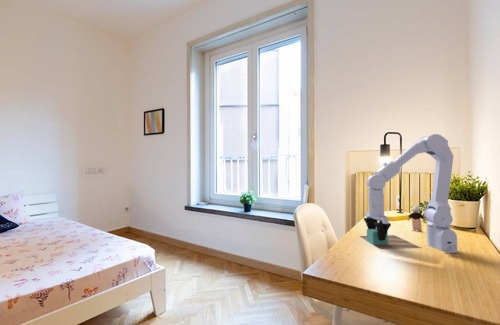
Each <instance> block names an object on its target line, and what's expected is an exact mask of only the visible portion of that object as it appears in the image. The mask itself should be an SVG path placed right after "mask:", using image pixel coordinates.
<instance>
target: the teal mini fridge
mask: <svg viewBox="0 0 500 325" xmlns="http://www.w3.org/2000/svg"><path fill="white" fill-rule="evenodd" d="M388 232H389V231H387V234H386V238H385V241H380V240H379V239H378V232H377V228H376V229H368V228H367V229H366V236H367V241H366V242H368V243H369V242H370V243H369V244H371V245H372V244H373V245H372V246H374V245H377V244H388V235H389V233H388Z"/></svg>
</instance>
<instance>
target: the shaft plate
mask: <svg viewBox="0 0 500 325" xmlns="http://www.w3.org/2000/svg"><path fill="white" fill-rule="evenodd" d="M359 237H360V238H361V239H363V240H364V241H366V242H368V241H367V235H359ZM368 243H369V244H371V243H370V242H368ZM371 245H372V246H374V247H376V248H377V249H379V250H400V249H404V250H405V249H422V247H421V246H419V245H416V244H414V243H412V242H410V241H409V240H406V239H404V238H401V237H400V236H397V235H395V234H388V244H377V245H373V244H371Z"/></svg>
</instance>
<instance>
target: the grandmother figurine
mask: <svg viewBox="0 0 500 325" xmlns="http://www.w3.org/2000/svg"><path fill="white" fill-rule="evenodd" d="M411 210H412V213H409V215H408V217H407V218H406V220H407V221H410V219H412V220H411V223H412V224H411V226H412V231H411V232H416V233H417V232H418V233H423V229H422V226H423V225H422V221H423V222H424V223H425V222H426V221H427V219H426V218H425V216H424V214H422V213H421V212H420V210H421V209H420V206H419V205H412V207H411Z"/></svg>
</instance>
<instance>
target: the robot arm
mask: <svg viewBox="0 0 500 325" xmlns="http://www.w3.org/2000/svg"><path fill="white" fill-rule="evenodd" d="M423 153H425V154H428V155H430V156H431V158H432V159H434V160H435V164H434V166H435V167H434V173H433V182H432V190H431V198H430V201H429V202H428V204H427V207H426V209H425V210H424V212H423V213H424V214H423V217H424V218H425V220H426V221H427V222H426V243H427V246H428V247H431V248H434V249H436V250H439V251H443V252H444V251H445V252H444V253H445V254H455V253H456V254H458V253H461V252H460V250H458V235H457V233H456V232H455V231H454V230H453V229H452V228H451V224H452V223H453V220H454V219H453V216H452V213H451V212H452V211H451V210H452V207H451V206H450V203H449V195H450V189H451V187H450V186H451V178H452V171H453V163H454V154H453V152H452V150H451V148H450V146H449V140H447V139H446V138H445V137H444V136H443V135H440V134H437V133H434V134H431V135H426V136H423V137H421V138H419V140H417V141H415V142H413V144H411V145H410V146H409V147H408V148H407V149H405V151H403V152H401V154H400V155H399V156H398V157H397V158H395V160H394V161H388V162H383V163H382V166H381V167H380V168H379V169H378V170H375V171H373V174H372V175H370V176H368V178H367V180H366V185H367V187H368V189H367V190H368V193H367V194H368V195H367V197H368V201H367V202H368V211H365V217H364V218H363V221H364V222H365V224H366V227H367V229H377V232H378V239H379V240H380V241H385V238H386V234H387V232H389V229H390V228H391V226H392V224H391V223H390V221H389V218H388V217H386V215H385V198H384V197H385V195H384V188H385V187H386V183H388V182H389V181H391V180H392V179H393V178H394V177H396V176H397V175H398V174H399V173H400V172H401V167H402V166H404V165H405V164H406V163H408V161H410V160H412V158H414V157H416V156H417V155H418V154H423Z"/></svg>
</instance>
